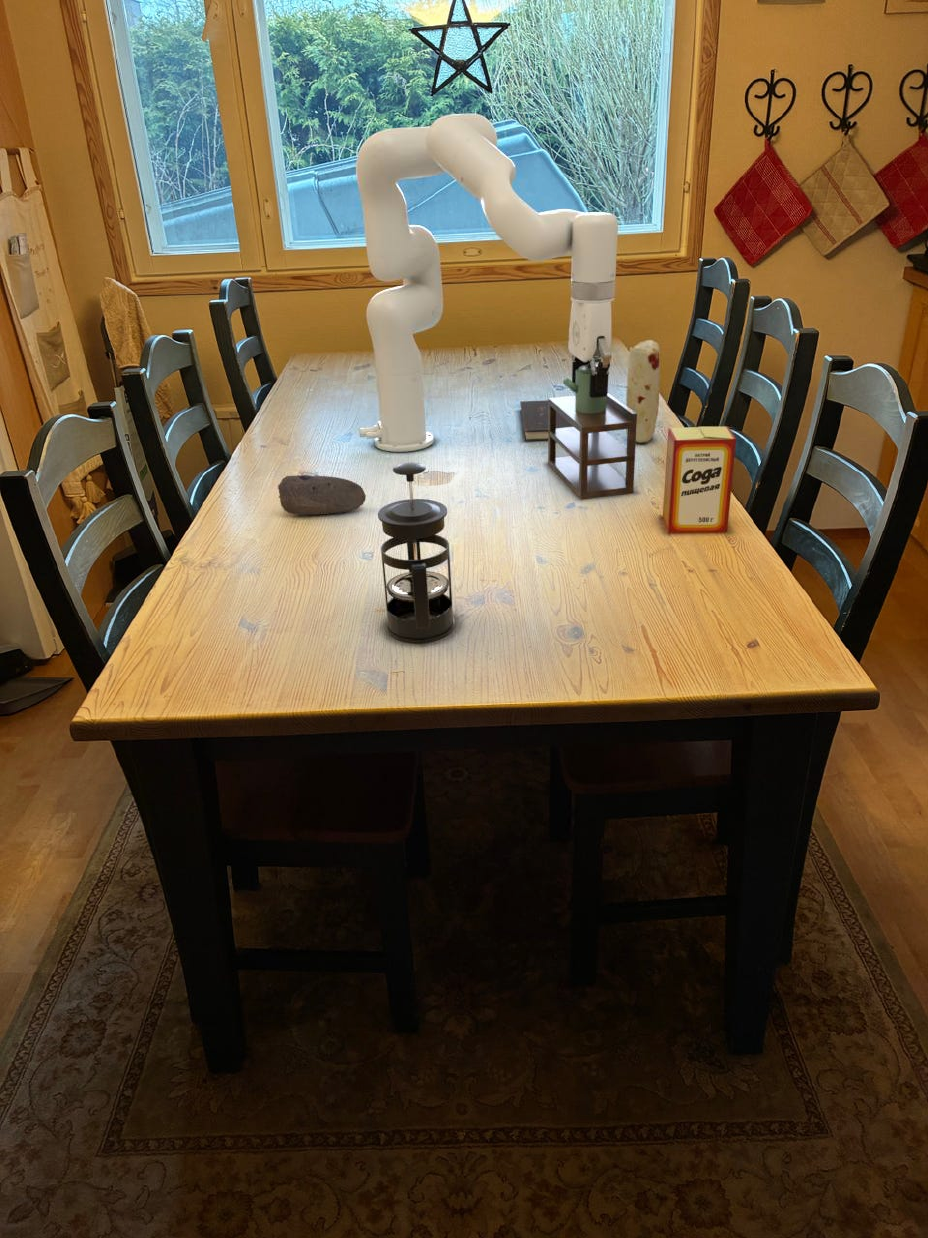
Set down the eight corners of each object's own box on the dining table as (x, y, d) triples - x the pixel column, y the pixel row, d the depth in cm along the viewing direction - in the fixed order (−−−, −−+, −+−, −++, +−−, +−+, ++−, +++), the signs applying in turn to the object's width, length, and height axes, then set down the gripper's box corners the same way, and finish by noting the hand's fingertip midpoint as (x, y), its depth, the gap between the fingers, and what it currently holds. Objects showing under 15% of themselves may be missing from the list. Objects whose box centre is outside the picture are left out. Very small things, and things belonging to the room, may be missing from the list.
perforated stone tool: (368, 506, 169) (365, 469, 166) (365, 517, 165) (361, 479, 161) (286, 508, 170) (281, 471, 167) (280, 519, 165) (275, 482, 162)
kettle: (567, 416, 168) (568, 367, 164) (558, 408, 173) (558, 360, 169) (610, 411, 169) (612, 363, 165) (599, 403, 174) (601, 356, 170)
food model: (658, 446, 192) (664, 347, 183) (625, 446, 193) (629, 347, 184) (655, 431, 201) (661, 336, 191) (624, 431, 202) (628, 336, 192)
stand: (580, 499, 168) (582, 419, 161) (548, 464, 185) (548, 390, 178) (633, 492, 170) (637, 413, 163) (596, 458, 187) (598, 385, 180)
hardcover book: (524, 441, 199) (524, 430, 198) (520, 410, 219) (520, 401, 218) (600, 438, 198) (600, 428, 197) (589, 408, 219) (589, 398, 217)
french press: (384, 611, 133) (370, 455, 122) (450, 605, 134) (442, 449, 123) (388, 652, 123) (373, 486, 112) (460, 645, 124) (451, 479, 113)
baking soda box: (668, 533, 153) (674, 437, 146) (662, 517, 159) (668, 425, 151) (727, 532, 153) (736, 436, 145) (719, 516, 158) (728, 424, 151)
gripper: (556, 284, 168) (555, 379, 177) (588, 301, 154) (585, 404, 162) (596, 281, 170) (593, 376, 178) (632, 297, 155) (626, 400, 163)
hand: (589, 389), depth 170 cm, fingers open, 9 cm apart
